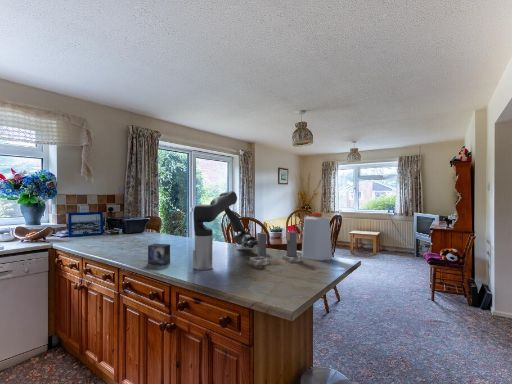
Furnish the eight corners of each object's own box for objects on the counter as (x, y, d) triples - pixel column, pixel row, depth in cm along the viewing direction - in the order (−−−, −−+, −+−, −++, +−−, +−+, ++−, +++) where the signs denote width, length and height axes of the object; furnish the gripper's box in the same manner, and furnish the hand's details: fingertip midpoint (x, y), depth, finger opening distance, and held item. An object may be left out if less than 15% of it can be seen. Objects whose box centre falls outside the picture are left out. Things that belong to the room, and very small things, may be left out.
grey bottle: (318, 263, 156) (319, 213, 156) (298, 258, 167) (298, 212, 168) (334, 259, 165) (334, 212, 166) (314, 255, 177) (314, 211, 177)
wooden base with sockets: (255, 268, 145) (255, 261, 145) (249, 264, 153) (249, 257, 153) (302, 264, 155) (302, 256, 155) (294, 260, 163) (294, 253, 163)
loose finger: (259, 261, 160) (259, 233, 160) (257, 260, 164) (257, 232, 164) (267, 260, 162) (267, 233, 162) (264, 259, 166) (264, 232, 166)
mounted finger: (289, 261, 155) (289, 232, 155) (286, 259, 158) (286, 231, 159) (296, 260, 156) (296, 232, 156) (293, 259, 160) (293, 231, 160)
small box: (147, 264, 153) (147, 245, 153) (154, 261, 159) (154, 243, 159) (164, 265, 150) (164, 246, 150) (170, 262, 157) (170, 244, 157)
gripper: (238, 236, 180) (247, 239, 165) (259, 235, 185) (269, 238, 170) (238, 247, 180) (247, 252, 165) (259, 246, 185) (269, 250, 170)
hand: (258, 245), depth 168 cm, fingers open, 8 cm apart
